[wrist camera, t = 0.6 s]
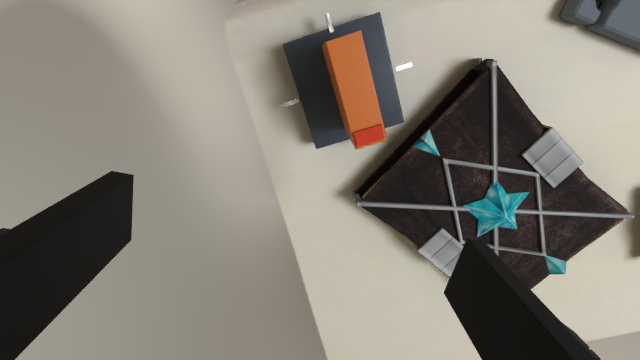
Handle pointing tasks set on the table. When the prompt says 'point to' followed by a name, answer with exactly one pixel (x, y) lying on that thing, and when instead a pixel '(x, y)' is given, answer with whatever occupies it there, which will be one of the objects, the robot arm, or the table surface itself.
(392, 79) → the plate
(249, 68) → the table surface
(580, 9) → the bracket
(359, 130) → the orange handle lever
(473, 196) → the book
